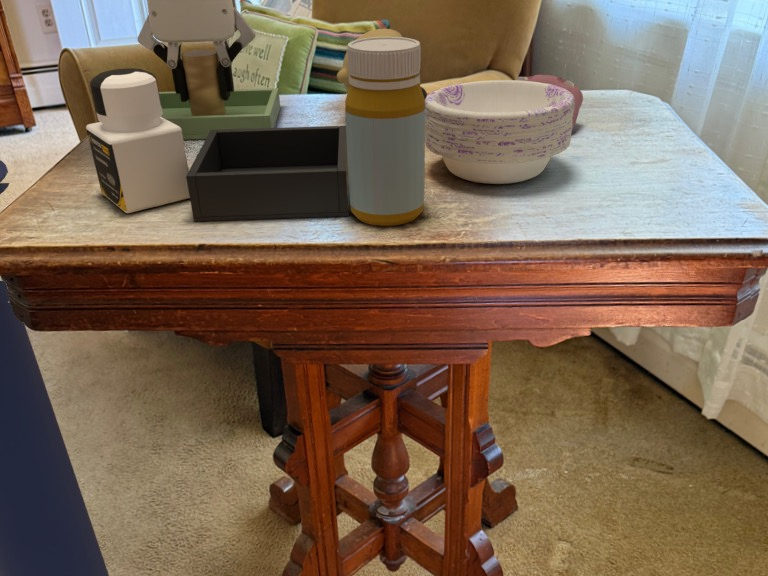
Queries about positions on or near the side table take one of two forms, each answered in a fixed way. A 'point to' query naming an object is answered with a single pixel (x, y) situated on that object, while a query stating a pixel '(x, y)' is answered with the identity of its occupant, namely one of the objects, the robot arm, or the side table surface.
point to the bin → (270, 174)
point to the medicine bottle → (135, 142)
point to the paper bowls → (498, 128)
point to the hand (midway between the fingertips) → (206, 97)
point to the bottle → (385, 130)
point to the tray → (240, 112)
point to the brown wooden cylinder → (203, 82)
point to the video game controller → (563, 84)
